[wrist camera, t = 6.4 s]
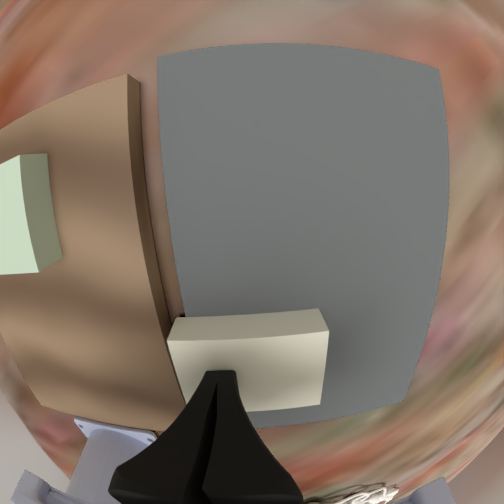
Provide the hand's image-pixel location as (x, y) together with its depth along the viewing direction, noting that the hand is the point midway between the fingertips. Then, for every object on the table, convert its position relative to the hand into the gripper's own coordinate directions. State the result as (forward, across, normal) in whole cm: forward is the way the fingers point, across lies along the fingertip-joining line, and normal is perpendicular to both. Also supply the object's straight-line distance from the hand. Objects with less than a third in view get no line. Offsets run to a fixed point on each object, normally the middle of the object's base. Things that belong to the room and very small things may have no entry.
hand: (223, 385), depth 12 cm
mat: (+3, -5, -4) cm, 7 cm away
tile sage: (+1, +11, -9) cm, 14 cm away
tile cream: (+2, -1, 0) cm, 3 cm away
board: (+3, +10, -4) cm, 11 cm away
